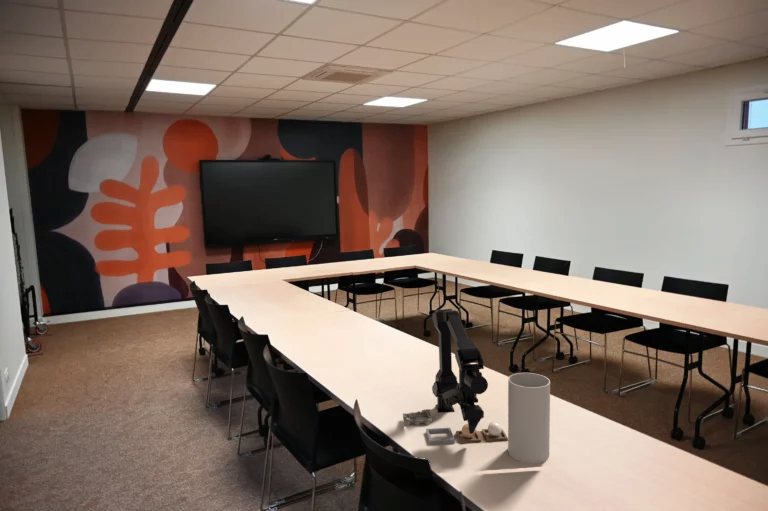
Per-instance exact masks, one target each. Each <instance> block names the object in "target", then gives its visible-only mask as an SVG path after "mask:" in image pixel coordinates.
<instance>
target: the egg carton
mask: <svg viewBox="0 0 768 511" xmlns="http://www.w3.org/2000/svg"><path fill="white" fill-rule="evenodd" d="M408 417H409V418H408ZM417 417H418V418H420V419H417ZM425 417H427V419H424V418H425ZM421 418H423V419H421ZM402 420H403V427H407V426H409V425H411V424H416V425H418V426H419V425H421V424H425V425H430V423H432V421H433V416H432V414H431V408H430V409H429V408H427V409H422V410H418V411H415V412H412V411H411V412H408V413H405V412H403V413H402Z"/></svg>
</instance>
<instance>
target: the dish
mask: <svg viewBox="0 0 768 511" xmlns="http://www.w3.org/2000/svg"><path fill="white" fill-rule="evenodd" d="M425 433H426V437H427V440H428V443H429V445H430V446H431V445H446V444H456V438H455V436H454V434H453V432H452V429H451V427H436V428H435V427H434V428H426V429H425ZM439 433H440V434H442V433H443V434H445V433H448V435H449V438H437V439H432V438H431V437H432V436H431V434H439Z"/></svg>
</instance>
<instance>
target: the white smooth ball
mask: <svg viewBox="0 0 768 511" xmlns="http://www.w3.org/2000/svg"><path fill="white" fill-rule="evenodd" d="M501 428H502V426H501V424H499V423H498V422H495V421H494V422H491V423H489V424H488V426H487V429H488V432H489V434H490V435H491V436H494V437H496V436H499V435H500V434H501V431H502V429H503V428H502V429H501Z"/></svg>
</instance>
